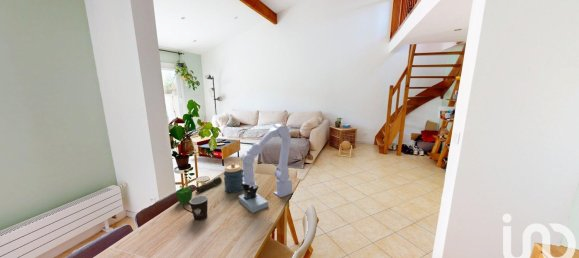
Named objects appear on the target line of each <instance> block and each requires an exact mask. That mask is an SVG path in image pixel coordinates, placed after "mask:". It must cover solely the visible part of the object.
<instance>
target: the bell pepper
mask: <svg viewBox="0 0 579 258" xmlns="http://www.w3.org/2000/svg"><path fill="white" fill-rule="evenodd" d="M179 188H180V189H178V190H177V189H176V192H175V195H176V199H177V201H178V203H180V204H181V205H184V204H185V203H190V200H191V199H192V198H193V190H192V189H191V188H190V187H184V186H183V185H179ZM185 205H186V204H185Z"/></svg>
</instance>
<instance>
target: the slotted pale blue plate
mask: <svg viewBox="0 0 579 258" xmlns="http://www.w3.org/2000/svg"><path fill="white" fill-rule="evenodd" d="M238 202H239V203H241V204H242V205H243V206H244V208H246V209H247V210H248V211H249V212H251V214H254V213H255V212H258V211H261V210H264V209H266V208H268V207H269V201H268V200H267V199H266V198H264V197H262V195H260V194H258V192H256V197H255V198H253V199H252V198H251V199H248V200H245V198H244V193H243V194H241V195H238Z"/></svg>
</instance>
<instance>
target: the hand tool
mask: <svg viewBox="0 0 579 258" xmlns="http://www.w3.org/2000/svg"><path fill="white" fill-rule="evenodd" d="M222 182H223V180H222V178H221V177H219V176H218V177H216V178H215V177H214V178H213V180H211V181H209V182H206V183H204V184H202V185H200V186H196V187H195V191H196V192H197V193H198V194H199V193H201V192H203V191H205V190H207V189H210V188H211V187H214V186H217V185H219V184H221V183H222Z"/></svg>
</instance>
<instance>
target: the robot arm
mask: <svg viewBox="0 0 579 258" xmlns="http://www.w3.org/2000/svg"><path fill="white" fill-rule="evenodd" d="M289 131H290V129H289V128H288V127H287V126H286V125H283V124H281V123H279V122H278V123H274V124H273V125H272V126H271V127H270V129H269V130H268V131H267V132H266V133H265V135H264V136H263V137H262V138H261V140H260V141H258V142H256V143H254V144H251V147H250V148H249V149H248V150H247V151H245V153H242V155H241V158H240V159H241V161H242V169H243V175H244V177H243V178H242V181H243V182H241V184H242V186H243V188H244V189H243V192H244V191H246V190H249V191H250V194H251V198H252V199H253V198H255V196H256V193H258V192H257V191H258V189H259V186H258V184H257V183H256V181H255V173H254V161H255V159H256V158H257V157H258V156H259V154H261V152H263V149H264V148H263V147H264V146H266V145H267V144H268V142H269V141H271V140H272V139H273V138H278V137H279V138H280V139H281V145H280V152H279V158H278V164H277V165H276V167H275V170H274V176H275V177H276V178H275V182H276V183H275V184H276V188H275V189H276V191H273V194H275V195H276V196H277V197H280V198H283V197H286V196H288V195H290V194H293V193H294V192H293V182H292V180H291V178H290V173H289V172H290V170H289V167H288V161H289V157H290V156H289V155H290V149H291V148H290V147H291V140H292V136H291V134H290V132H289Z"/></svg>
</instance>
